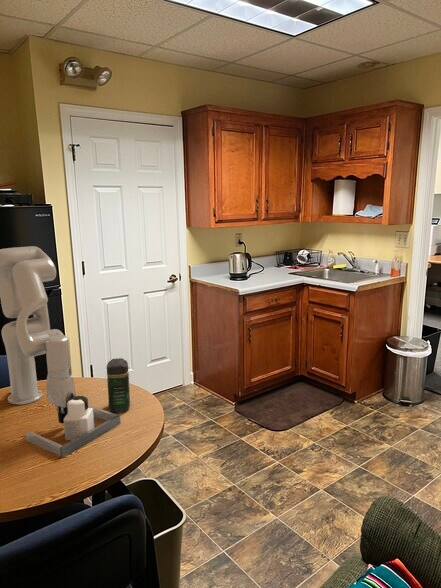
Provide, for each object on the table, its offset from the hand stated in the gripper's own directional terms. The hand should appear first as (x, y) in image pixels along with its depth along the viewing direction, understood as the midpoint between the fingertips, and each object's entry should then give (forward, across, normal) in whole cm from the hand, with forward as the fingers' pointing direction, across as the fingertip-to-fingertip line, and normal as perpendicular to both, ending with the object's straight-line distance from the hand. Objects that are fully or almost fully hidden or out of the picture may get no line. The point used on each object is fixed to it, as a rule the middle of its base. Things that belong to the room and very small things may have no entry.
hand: (64, 421), depth 154 cm
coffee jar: (+3, +6, +21) cm, 22 cm away
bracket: (+2, +7, 0) cm, 7 cm away
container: (+2, +8, 0) cm, 9 cm away
